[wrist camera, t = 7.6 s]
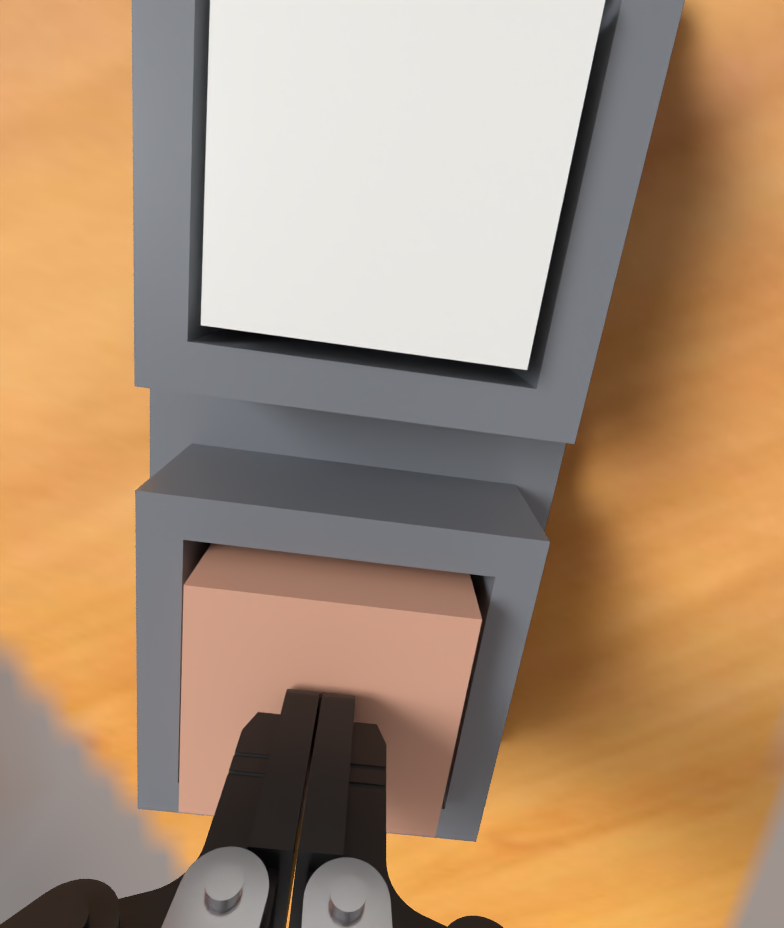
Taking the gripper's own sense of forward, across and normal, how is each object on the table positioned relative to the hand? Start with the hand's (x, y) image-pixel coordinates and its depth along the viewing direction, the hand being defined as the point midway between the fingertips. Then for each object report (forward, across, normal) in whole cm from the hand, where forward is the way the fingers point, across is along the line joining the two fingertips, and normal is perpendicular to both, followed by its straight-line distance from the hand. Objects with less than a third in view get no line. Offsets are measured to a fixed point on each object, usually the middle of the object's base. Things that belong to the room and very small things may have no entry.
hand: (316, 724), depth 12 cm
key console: (+6, 0, -6) cm, 8 cm away
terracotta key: (+3, 0, 0) cm, 3 cm away
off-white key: (+4, 0, -11) cm, 12 cm away
